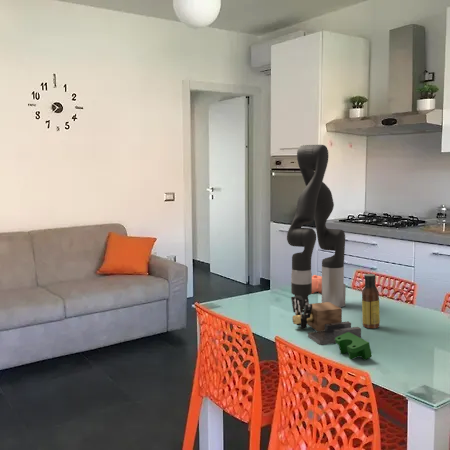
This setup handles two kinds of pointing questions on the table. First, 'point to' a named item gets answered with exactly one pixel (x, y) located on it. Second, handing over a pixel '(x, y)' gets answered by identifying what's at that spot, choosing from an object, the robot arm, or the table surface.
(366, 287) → the sauce bottle
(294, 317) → the cannon barrel
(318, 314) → the wooden mallet head
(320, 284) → the pink cube teapot
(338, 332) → the rest
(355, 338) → the clamp
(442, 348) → the table surface
